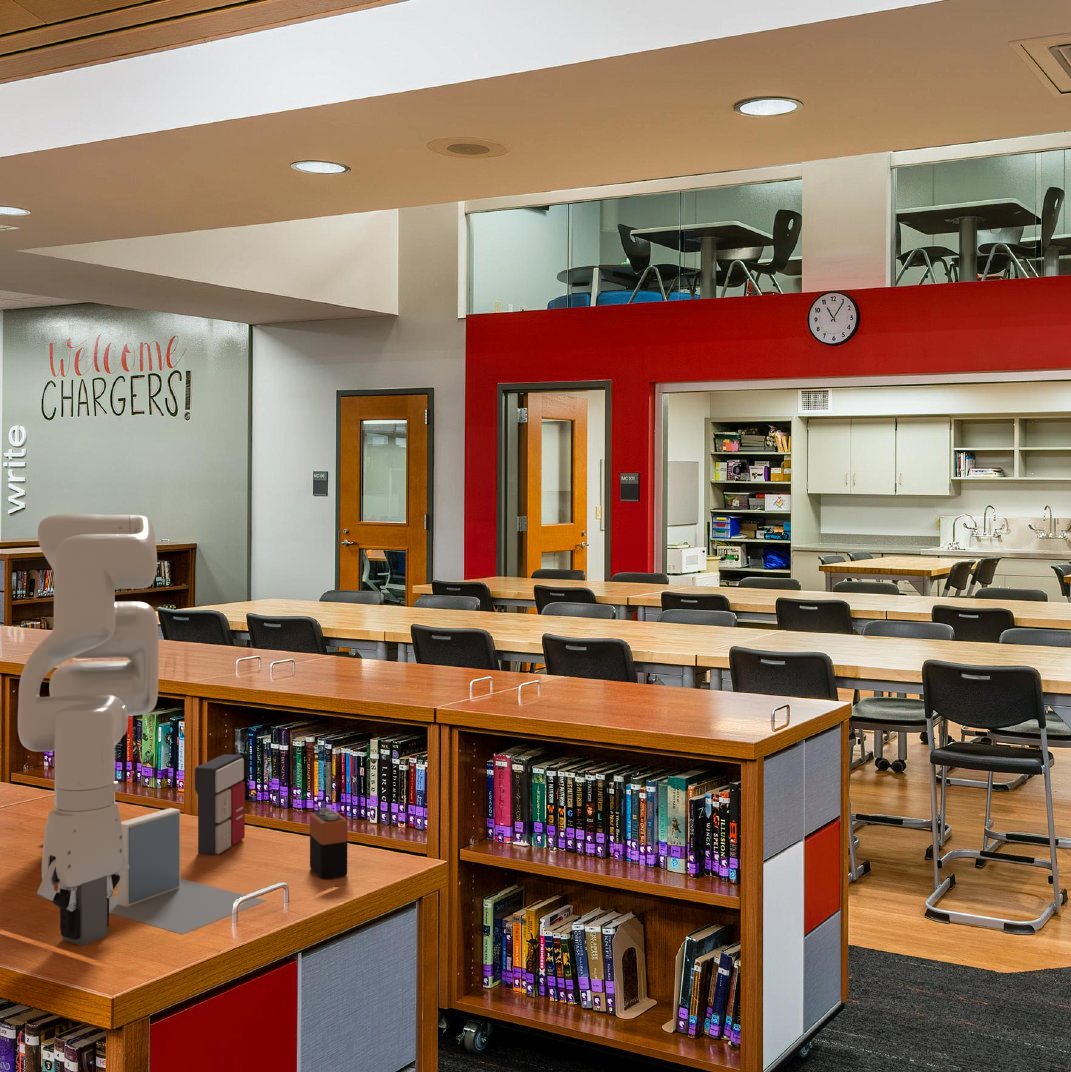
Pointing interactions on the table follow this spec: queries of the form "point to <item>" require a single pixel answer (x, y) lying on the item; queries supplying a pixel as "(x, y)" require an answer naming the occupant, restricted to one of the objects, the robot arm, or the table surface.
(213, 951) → the table surface
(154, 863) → the tile
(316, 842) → the battery
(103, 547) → the robot arm
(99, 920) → the block
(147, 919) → the mat
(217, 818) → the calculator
